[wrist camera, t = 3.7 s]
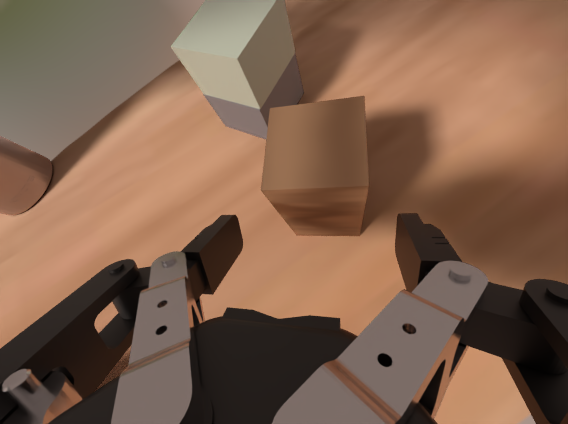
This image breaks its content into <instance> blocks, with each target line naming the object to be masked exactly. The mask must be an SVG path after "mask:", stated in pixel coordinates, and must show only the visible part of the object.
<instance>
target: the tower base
mask: <svg viewBox="0 0 568 424" xmlns="http://www.w3.org/2000/svg"><path fill="white" fill-rule="evenodd" d="M303 93H304V91H303V87H302V82H301V77H300V73H299V68H298V64H297V59H296V54H294V56H293V57H292V59H291V60H290V62H289V64H288V65H287V67H286V69H285V70H284V72H283V73H282V75H281V77H280V78H279V80H278V82H277V83H276V85H275V87H274V88H273V90H272V91H271V93H270V95H269V96H268V98H267V100H266V101H265V103H264V104H263V106H262V108H261V109H257V108H254V107H250V106H246V105H242V104H239V103H235V102H231V101H227V100H224V99H220V98H216V97H212V96H208V95H205V94H203V95H204V96H205V98H206V99H207V100H208V102H209V103H210V105H211V106H212V107H213V109H214V110H215V112H216V113H217V114H218V116H219V117H220V119H221V120H222V122H223V123H224V124H225V126H227V127H230V128H233V129H236V130H239V131H242V132H245V133H248V134H251V135H254V136H257V137H260V138H263V139H267V130H268V121H269V112H270V108H275V107H283V106H290V105H297V104H298V102H299V100H300V99H301V97H302V95H303Z"/></svg>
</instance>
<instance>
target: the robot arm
mask: <svg viewBox="0 0 568 424" xmlns="http://www.w3.org/2000/svg"><path fill="white" fill-rule="evenodd" d="M51 176H52V164H51V162H50V160H49V159H48V158H46V157H44V156H42V155H40V154H38V153H36V152H33V151H31V150H29V149H27V148H25V147H23V146H21V145H18V144H16V143H14V142H12V141H10V140H8V139H6V138H4V137H2V136H0V213H2V214H6V215H17V214H20V213H22V212H24V211H26V210H27V209H29V208H30V207H31V206H33V205H34V204H35V203H36V202H37V201H38V200H39V199H40V197H41V196H42V195H43V193H44V192H45V190H46V189H47V187H48V185H49V182H50V180H51ZM242 248H243V239H242V234H241V230H240V226H239V221H238V218H237V216H236V215H221V216H220V217H219V218H218V219H217V220H216V221H215V222H214V223H213V224H212V225H210V226H208V227H206V228H205V229H204V230H202V231H201V232H200V233H199V235H197V236H196V237H195V239H193V240H192V241H191V242H190V243H189V244H188V245H187V246H186V247H185V248H184V249H183V250H182V251H181V252H171V253H167V254H165V255H162V256H161V257H159V258H157V259H156V260H155V261H154V262H153V263H152V265H151V267H145V268H139V269H138V268H137V265H136V263H135V261H134V260H131V259H126V260H121V261H118V262H115V263H113V264H111V265H109V266H107V267H106V268H104V269H103V270H102V271H100V272H99V273H98V274H96V275H95V276H94V277H93V278H91V279H90V280H89V281H87V282H86V283H85V284H83V285H82V286H81V287H80V288H78V289H77V290H76V291H74V292H73V293H72V294H71V295H69V296H68V297H67V298H65V299H64V300H63V301H61V302H60V303H59V304H58V305H56V306H55V307H54V308H52V309H51V310H50V311H49V312H47V313H46V314H45V315H43V316H42V317H41V318H39V319H38V320H37V321H36V322H34V323H33V324H32V325H30V326H29V327H28V328H27V329H25V330H24V331H23V332H21V333H20V334H19V335H17V336H16V337H15V338H14V339H12V340H11V341H10V342H8V343H7V344H6V345H5V346H3V347H2V348H1V349H0V424H437V422H436V421H435V420H434V418H435V416H436V414H437V411H438V409H439V407H440V405H441V402H442V400H443V397H444V394H445V392H446V390H447V387H448V385H449V383H450V381H451V380H452V378H453V376H454V374H455V372H456V370H457V368H458V366H459V364H460V362H461V361H462V359H463V357H464V355H465V353H466V351H467V349H468V347H469V346H470V347H473V348H476V349H479V350H481V351H484V352H487V353H490V354H493V355H496V356H499V357H501V358H502V359H503V361H504V363H505V365H506V367H507V369H508V371H509V373H510V374H511V376H512V378H513V380H514V382H515V384H516V386H517V388H518V390H519V392H520V394H521V396H522V398H523V399H524V401H525V403H526V405H527V407H528V409H529V411H530V413H531V415H532V416H533V419H534V421H535V422H536V424H568V285H567V284H564V283H561V282H557V281H553V280H546V279H534V280H530V281H528V282H527V283H526V284H525V287H524V289H523V290H519V289H515V288H511V287H506V286H502V285H498V284H494V283H491V282H488V278H487V276H486V275H485V274H484V273H483V272H482V271H481V270H479V269H478V268H476V267H474V266H472V265H469V264H467V263H463V262H462V261H461V259H460V258H459V256H458V255H457V253H456V252H455V250H454V249H453V248H452V246H451V245H450V244H449V242H448V240H447V239H446V238H445V236H444V235H443V233H442V232H441V230H439V229H438V228H436V227H435V226H433V225H431V224H423V222H422V221H421V219H420V217H419V216H418V214H417V213H402V214H398V217H397V227H396V239H395V253H396V257H397V261H398V264H399V267H400V270H401V273H402V277H403V280H404V283H405V286H406V290H405V289H404V290H402V291H400V292H399V293H398V294H397V295H396V296H395V298H394V299H393V300H392V301H391V302H390V303H389V304H388V305H387V306H386V307H385V308H384V309H383V310H382V311H381V312H380V313H379V315H378V316H377V317H376V318H375V319H374V320H373V321H372V322H371V323H370V324H369V325H368V326H367V327H366V328H365V329H364V330H363V332H362V333H361V334H360V335H359V336H356V335H354V334H353V333H350V332H348V331H346V330H343V329H341V328H340V318H331V317H321V316H310V315H309V316H301V317H292V318H284V319H277V318H274V317H271V316H268V315H265V314H263V313H260V312H257V311H254V310H248V309H238V308H228V307H227V309H226V311H225V313H224V315H223V316H222V317H217V318H213V319H210V320H207V321H205V318H204V312H203V306H202V301H201V299H200V296H201V295H202V294H212V295H213V294H214V292H215V290H216V289H217V287H218V286H219V284H220V283H221V281H222V280H223V278H224V277H225V275H226V274H227V272H228V271H229V269H230V268H231V266H232V265H233V263H234V262H235V260H236V259H237V257H238V255H239V254H240V252H241V251H242ZM111 302H113V304H114V305H115V307H116V309H117V311H118V312H119V313H118V314H117V315H116V316H115V317H114V318H113V319H112V320H111V321H110V322H109V324H108V325H107V326H106V327H105V328H104V329H103V330H102V331H101V332H100V333H99V334H98V332H97V330H96V329H95V326H94V322H95V319H96V317H97V315H98V314H99V313H100V312H101V311H102V310H103V309H104V308H105V307H106V306H107V305H109V304H110V303H111ZM131 344H132V346H131ZM130 346H131V352H130V358H129V364H128V366H127V368H126V369H124V370H123V371H122V373H121V375H119V376H118V377H116V378H115V379H113V380H112V381H110V382H109V383H107V384H106V385H104V386H103V387H101V388H100V389H98V390H96V389H97V387H98V386H99V385H100V384H101V382H102V381H103V380H104V379H105V377H106V376H107V375H108V374H109V372H110V371H111V370H112V368H113V367H114V366H115V365H116V363H117V362H118V361H119V360H120V358H121V357H122V356H123V355H124V353H125V352H126V351H127V349H128V348H129V347H130ZM95 390H96V391H95ZM94 391H95V392H94Z"/></svg>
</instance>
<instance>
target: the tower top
mask: <svg viewBox="0 0 568 424" xmlns="http://www.w3.org/2000/svg"><path fill="white" fill-rule="evenodd" d="M171 48H172V50H173V51H174V53H175V54H176V55H177V57H178V58H179V60H180V61H181V63H182V64H183V65H184V67H185V68H186V70H187V71H188V72H189V74H190V75H191V77H192V78H193V80H194V81H195V82H196V84H197V85H198V87H199V88H200V89H201V91H202V92H203V94H205V95H208V96H212V97H216V98H220V99H224V100H227V101H231V102H235V103H239V104H242V105H246V106H250V107H254V108H257V109H261V108H262V106H263V104H264V103H265V101H266V100H267V98H268V96H269V95H270V93H271V91H272V90H273V88H274V87H275V85H276V83H277V82H278V80H279V78H280V77H281V75H282V73H283V72H284V70H285V69H286V67H287V65H288V64H289V62H290V60H291V59H292V57H293V56H294V54H295V47H294V42H293V38H292V33H291V28H290V24H289V19H288V14H287V10H286V5H285V0H205V2H204V3H203V4H202V5H201V7H200V8H199V10H198V11H197V12H196V14H195V15H194V16H193V17H192V19H191V20H190V21H189V23H188V24H187V26H186V27H185V28H184V30H183V31H182V32H181V33H180V35H179V36H178V38H177V39H176V40H175V41H174V43H173V44H172V45H171Z"/></svg>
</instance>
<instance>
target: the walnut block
mask: <svg viewBox="0 0 568 424" xmlns="http://www.w3.org/2000/svg"><path fill="white" fill-rule="evenodd" d="M368 189H369V175H368V156H367V136H366V116H365V97H364V96H359V97H351V98H344V99H336V100H329V101H321V102H313V103H306V104H298V105H290V106H283V107H275V108H270V112H269V121H268V130H267V139H266V148H265V157H264V166H263V175H262V185H261V191H262V192H263V194H264V195H265V196H266V197H267V199H268V200H269V201H270V202H271V204H272V205H273V206H274V207H275V209H276V210H277V211H278V212H279V214H280V215H281V216H282V217H283V219H284V220H285V221H286V222H287V224H288V225H289V226H290V227H291V229H292V230H293V231H294V232H295V234H296V235H301V236H360V232H361V226H362V221H363V216H364V210H365V205H366V200H367V194H368Z"/></svg>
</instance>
